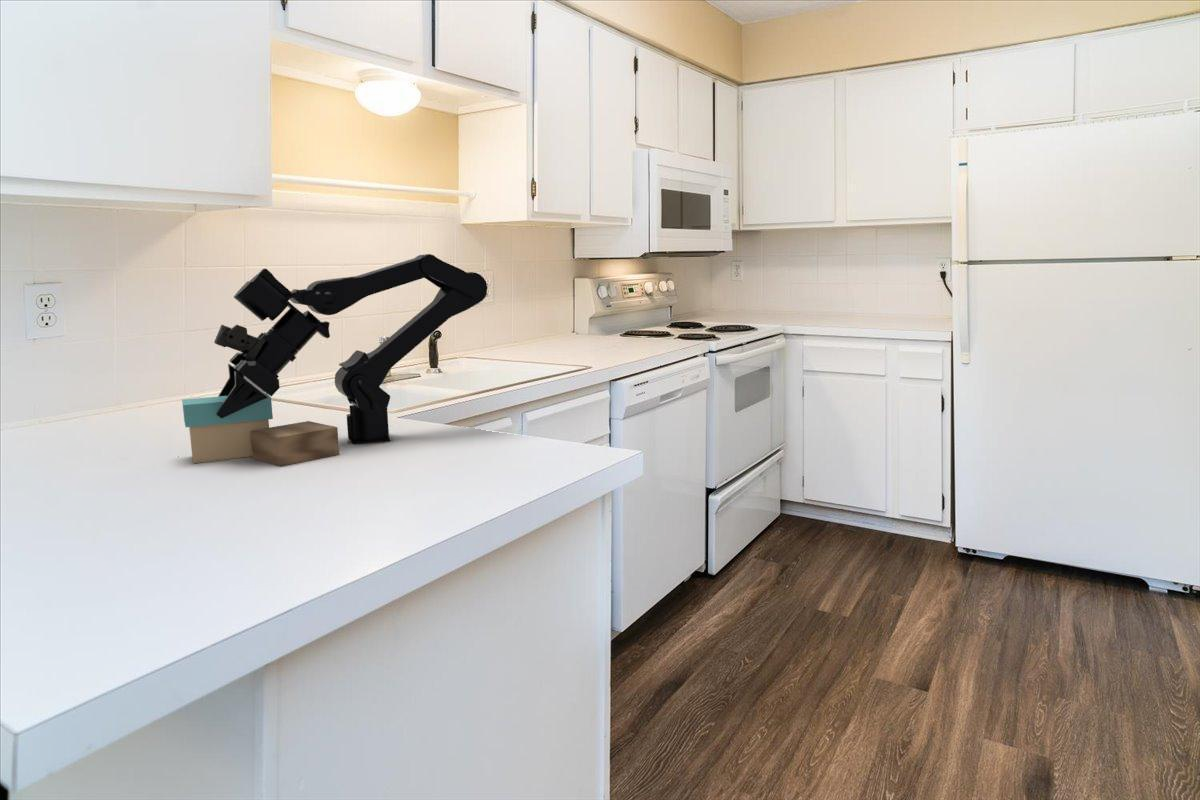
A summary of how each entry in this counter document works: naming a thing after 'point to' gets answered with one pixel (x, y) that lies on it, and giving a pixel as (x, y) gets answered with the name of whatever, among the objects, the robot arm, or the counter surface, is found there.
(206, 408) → the lid
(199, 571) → the counter surface
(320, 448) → the walnut block
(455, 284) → the robot arm
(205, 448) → the box
